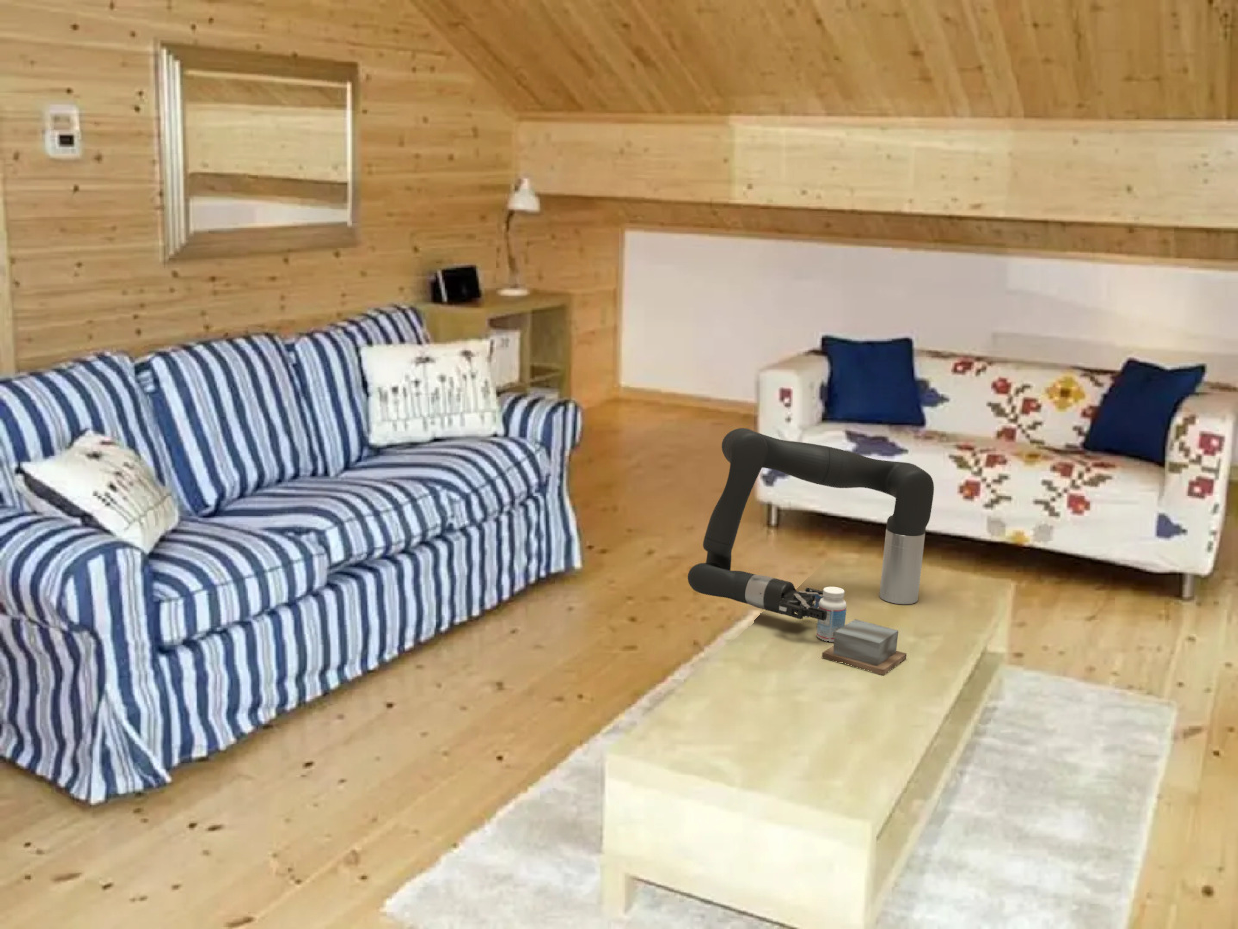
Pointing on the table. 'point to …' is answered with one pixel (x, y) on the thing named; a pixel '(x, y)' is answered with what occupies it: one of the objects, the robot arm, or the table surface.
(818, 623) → the pill bottle
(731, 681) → the table surface
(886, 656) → the tower base
